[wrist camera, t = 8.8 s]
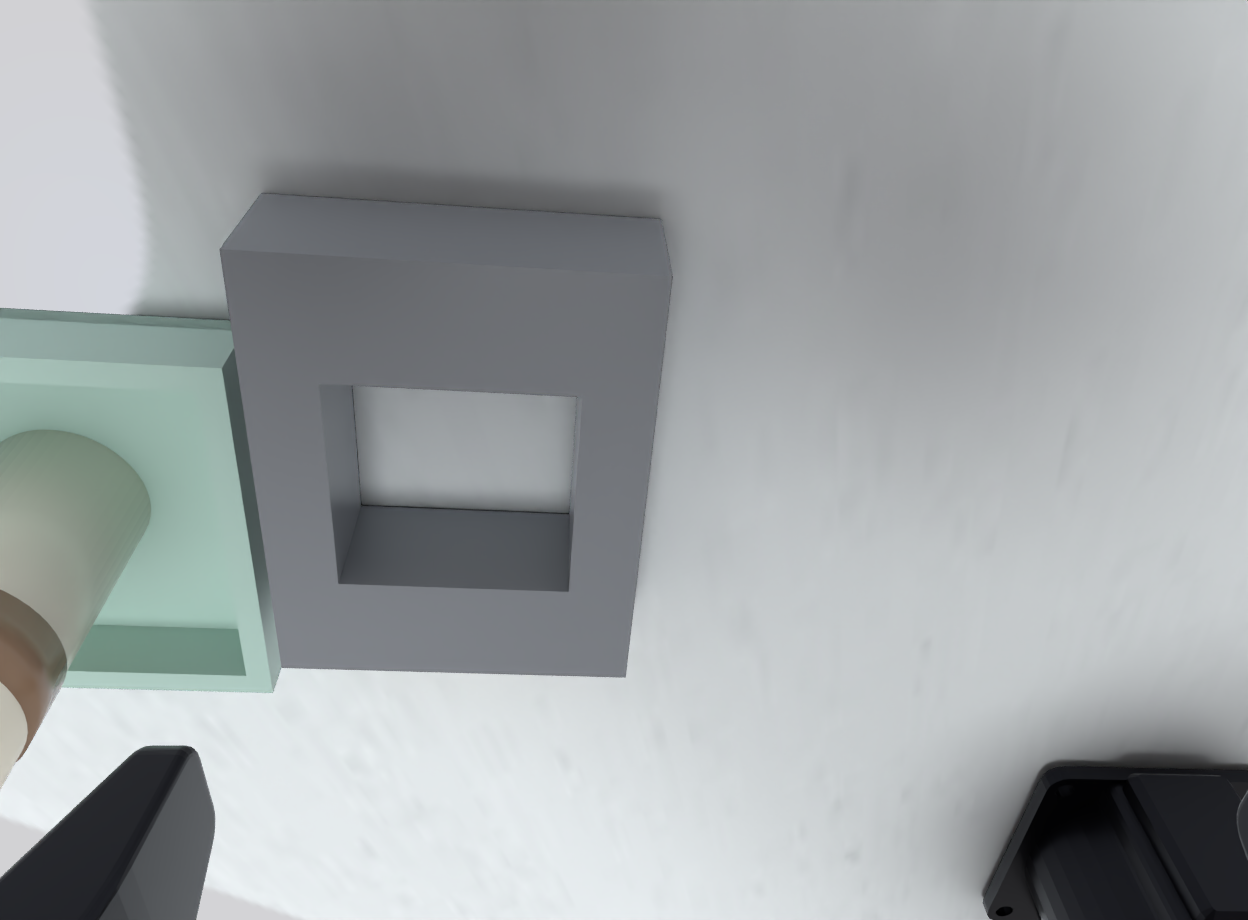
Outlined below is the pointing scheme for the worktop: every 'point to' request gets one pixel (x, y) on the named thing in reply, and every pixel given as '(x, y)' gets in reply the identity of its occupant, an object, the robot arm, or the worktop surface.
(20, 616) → the fuse
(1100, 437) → the worktop surface
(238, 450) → the parts tray
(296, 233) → the fuse holder
